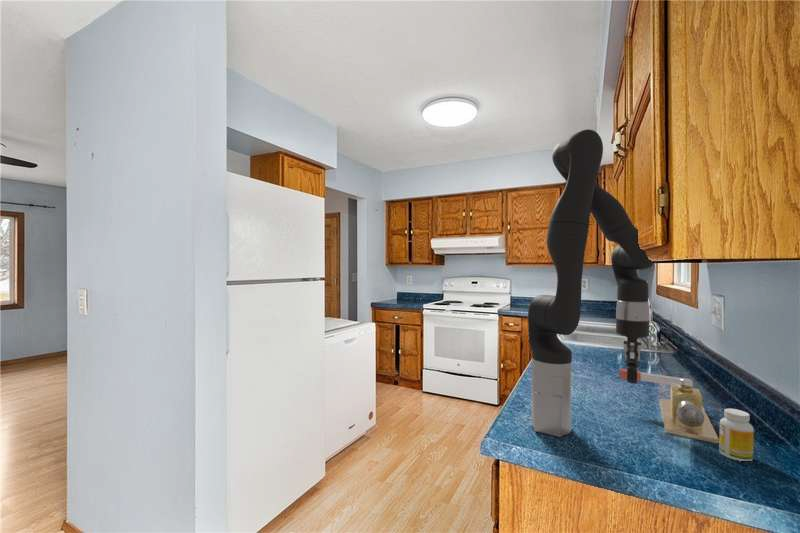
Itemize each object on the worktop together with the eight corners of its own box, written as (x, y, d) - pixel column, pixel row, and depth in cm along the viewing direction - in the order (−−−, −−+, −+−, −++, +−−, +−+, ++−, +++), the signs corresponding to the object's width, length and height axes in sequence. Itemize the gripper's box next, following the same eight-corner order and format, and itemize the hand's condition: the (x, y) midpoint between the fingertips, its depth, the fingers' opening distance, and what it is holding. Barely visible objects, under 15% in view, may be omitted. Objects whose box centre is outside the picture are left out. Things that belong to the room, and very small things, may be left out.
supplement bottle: (712, 451, 80) (713, 408, 79) (730, 448, 81) (731, 405, 81) (741, 464, 74) (741, 418, 74) (759, 461, 76) (760, 415, 76)
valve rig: (719, 443, 83) (719, 406, 83) (665, 432, 88) (665, 397, 88) (702, 409, 103) (702, 378, 103) (659, 401, 108) (659, 372, 108)
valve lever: (691, 386, 96) (691, 378, 96) (693, 389, 94) (693, 381, 94) (619, 375, 105) (619, 368, 105) (619, 378, 103) (619, 370, 103)
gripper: (650, 322, 89) (650, 392, 89) (648, 315, 100) (648, 378, 100) (615, 319, 93) (614, 386, 93) (617, 313, 104) (616, 373, 104)
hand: (632, 382), depth 96 cm, fingers closed
